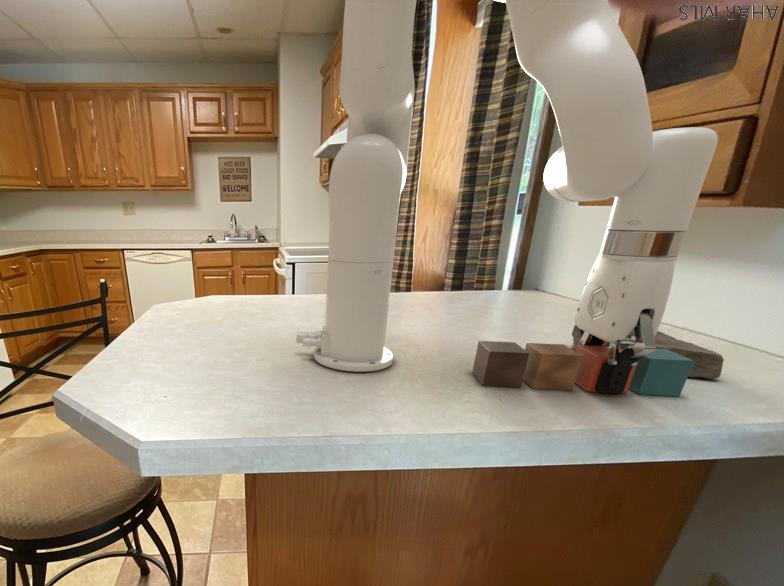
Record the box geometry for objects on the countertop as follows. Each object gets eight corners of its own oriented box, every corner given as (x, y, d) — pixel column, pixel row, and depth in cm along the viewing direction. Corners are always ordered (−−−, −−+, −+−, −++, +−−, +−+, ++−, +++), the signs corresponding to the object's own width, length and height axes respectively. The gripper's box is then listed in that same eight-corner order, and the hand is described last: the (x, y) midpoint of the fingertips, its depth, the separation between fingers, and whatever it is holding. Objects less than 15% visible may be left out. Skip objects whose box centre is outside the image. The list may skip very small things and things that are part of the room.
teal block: (637, 394, 56) (650, 358, 54) (615, 380, 60) (626, 347, 59) (679, 396, 55) (694, 360, 53) (653, 382, 60) (666, 348, 58)
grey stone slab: (720, 381, 60) (733, 353, 58) (602, 373, 63) (611, 346, 62) (652, 347, 75) (661, 324, 73) (560, 341, 78) (566, 319, 77)
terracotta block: (586, 391, 57) (597, 356, 55) (567, 377, 61) (577, 344, 59) (627, 393, 56) (639, 357, 54) (605, 379, 61) (616, 346, 59)
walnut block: (482, 385, 58) (489, 351, 57) (472, 372, 63) (478, 340, 61) (521, 387, 58) (529, 353, 56) (507, 374, 62) (515, 342, 60)
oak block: (532, 388, 58) (541, 353, 56) (518, 375, 62) (526, 342, 60) (572, 390, 57) (582, 355, 55) (554, 377, 62) (564, 344, 60)
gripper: (571, 241, 60) (540, 362, 67) (653, 252, 44) (601, 408, 51) (629, 241, 59) (591, 364, 66) (734, 253, 43) (670, 412, 50)
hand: (596, 382), depth 58 cm, fingers closed on terracotta block, 5 cm apart
